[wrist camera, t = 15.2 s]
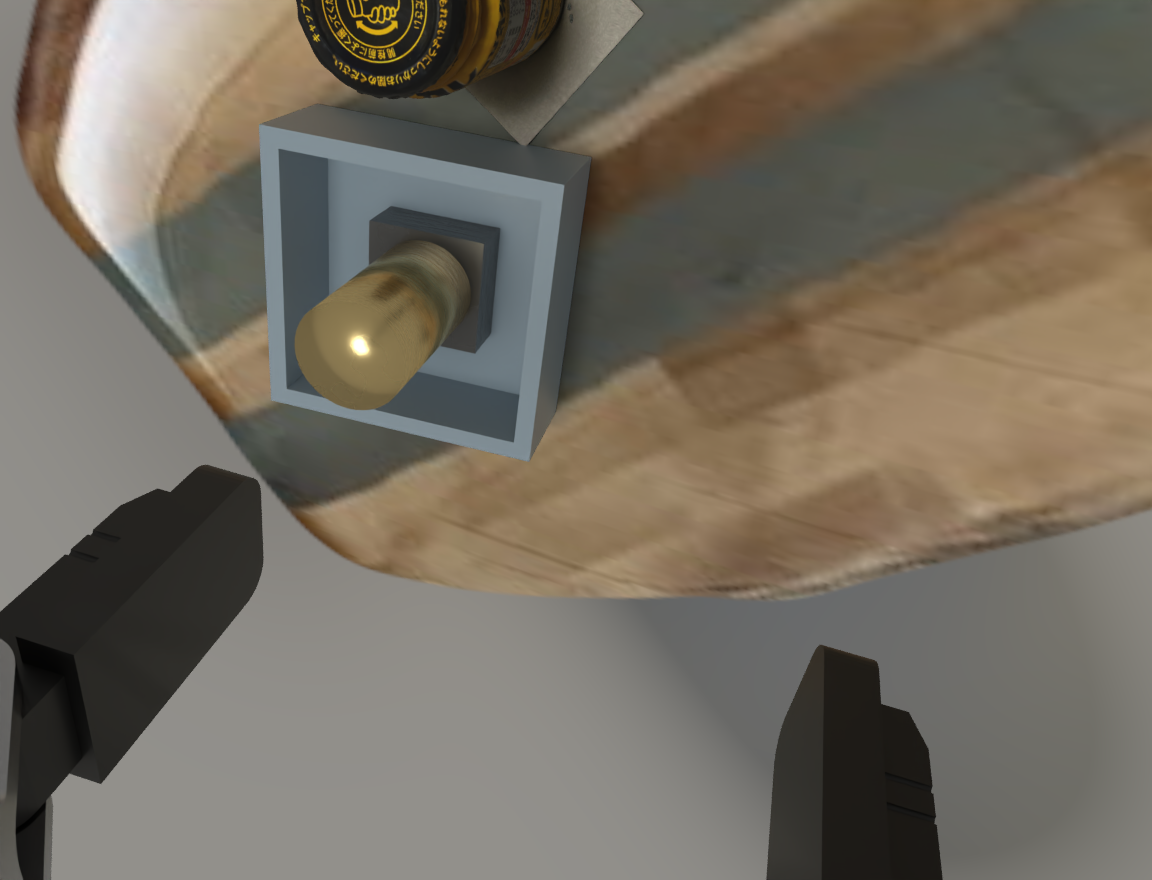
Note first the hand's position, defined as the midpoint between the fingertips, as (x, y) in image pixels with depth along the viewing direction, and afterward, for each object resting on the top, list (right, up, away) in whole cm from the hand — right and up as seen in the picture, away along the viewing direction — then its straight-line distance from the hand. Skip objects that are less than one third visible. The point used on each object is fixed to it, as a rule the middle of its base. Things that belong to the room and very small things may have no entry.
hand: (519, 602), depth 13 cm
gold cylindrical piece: (-5, +10, +30) cm, 32 cm away
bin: (-5, +10, +30) cm, 33 cm away
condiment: (-2, +20, +24) cm, 32 cm away
